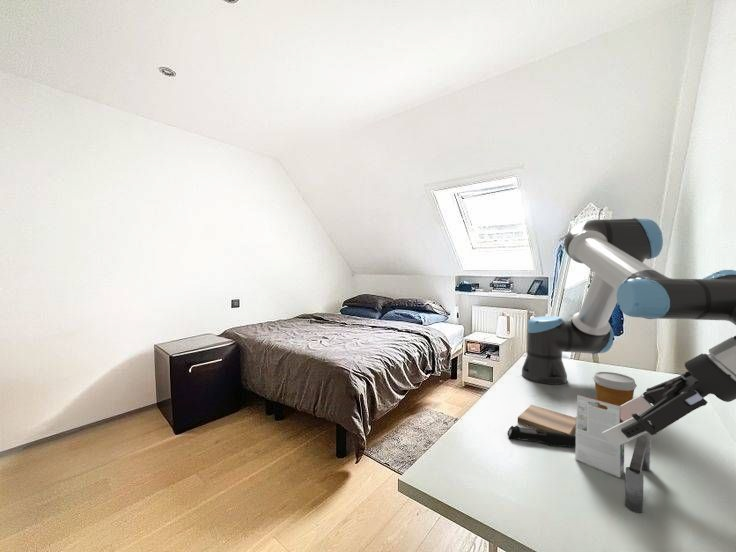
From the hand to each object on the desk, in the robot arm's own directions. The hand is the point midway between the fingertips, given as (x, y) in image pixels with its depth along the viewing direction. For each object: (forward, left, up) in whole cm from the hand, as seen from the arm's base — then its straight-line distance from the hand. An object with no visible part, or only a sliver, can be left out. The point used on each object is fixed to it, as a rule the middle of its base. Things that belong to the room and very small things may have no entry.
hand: (613, 426), depth 63 cm
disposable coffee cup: (-29, -3, -10) cm, 31 cm away
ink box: (-1, -2, -10) cm, 10 cm away
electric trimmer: (-3, -14, -10) cm, 18 cm away
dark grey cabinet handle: (+1, +4, -10) cm, 10 cm away
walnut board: (-14, -15, -10) cm, 23 cm away
